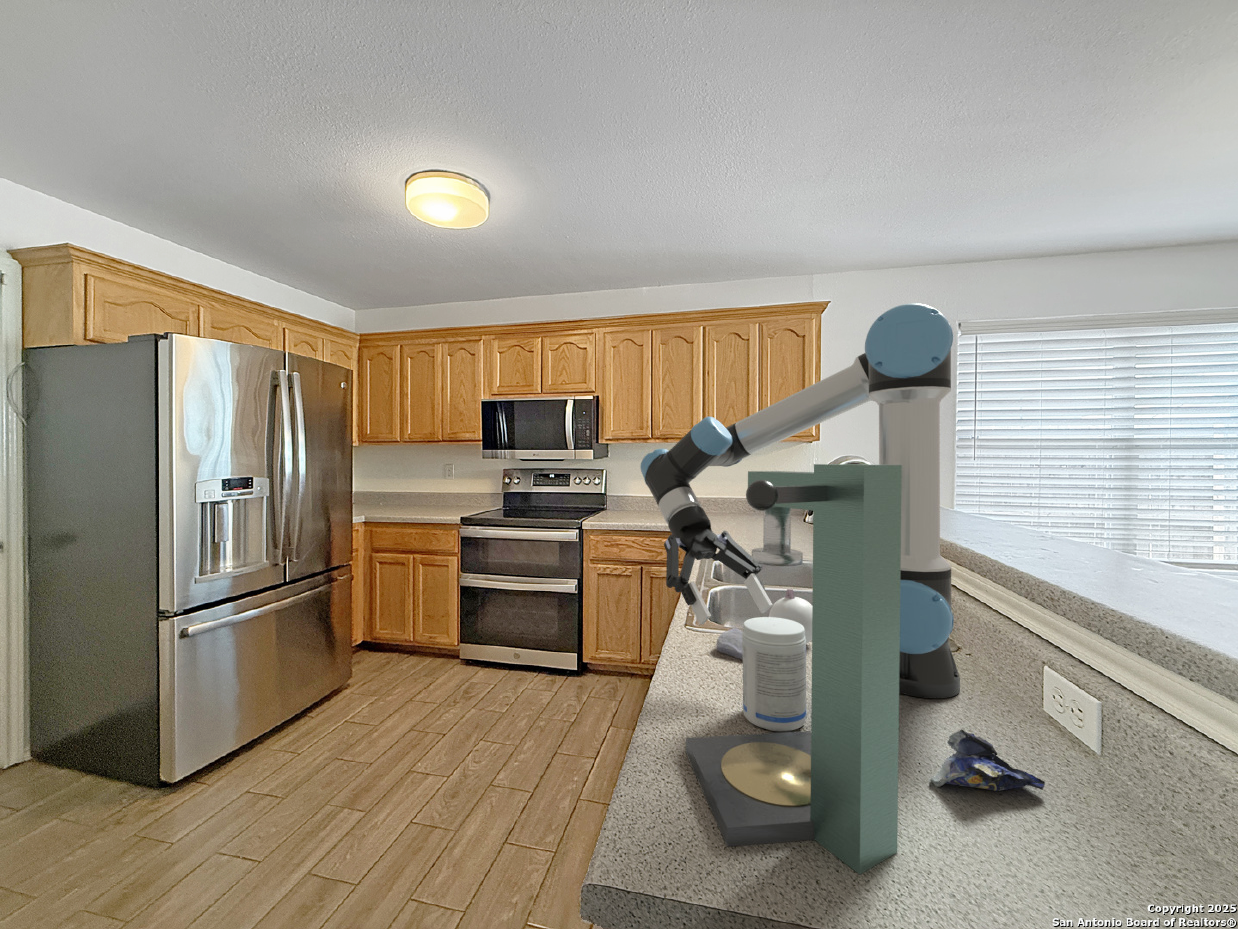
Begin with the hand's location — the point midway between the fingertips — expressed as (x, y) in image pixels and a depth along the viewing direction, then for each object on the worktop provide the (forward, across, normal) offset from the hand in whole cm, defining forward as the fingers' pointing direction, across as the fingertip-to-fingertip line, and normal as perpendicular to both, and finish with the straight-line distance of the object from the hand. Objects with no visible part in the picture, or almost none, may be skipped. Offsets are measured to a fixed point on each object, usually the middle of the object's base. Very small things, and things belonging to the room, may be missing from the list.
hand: (737, 614), depth 90 cm
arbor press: (+26, +13, +6) cm, 30 cm away
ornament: (0, -30, -21) cm, 36 cm away
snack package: (+33, -12, +12) cm, 37 cm away
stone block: (-1, -17, -22) cm, 27 cm away
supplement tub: (+16, -1, -5) cm, 17 cm away
